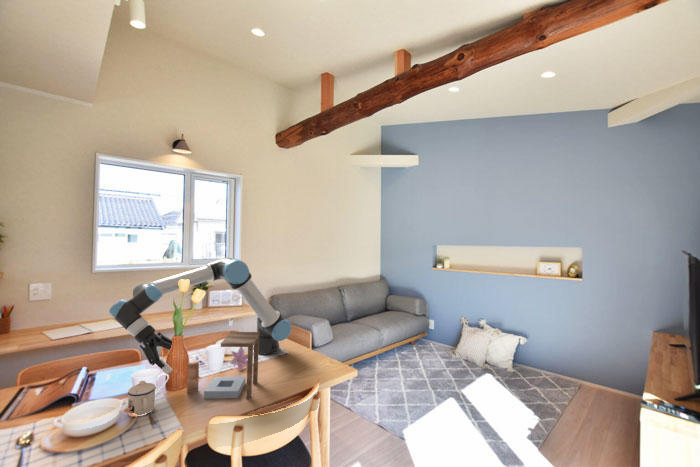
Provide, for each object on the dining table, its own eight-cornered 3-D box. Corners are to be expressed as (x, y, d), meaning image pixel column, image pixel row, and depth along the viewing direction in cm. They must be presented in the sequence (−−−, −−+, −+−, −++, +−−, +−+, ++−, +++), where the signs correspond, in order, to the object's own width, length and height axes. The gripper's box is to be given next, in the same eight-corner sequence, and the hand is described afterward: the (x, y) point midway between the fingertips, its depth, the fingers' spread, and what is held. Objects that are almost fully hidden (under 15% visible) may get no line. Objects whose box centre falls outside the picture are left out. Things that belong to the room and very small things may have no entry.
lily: (225, 376, 165) (234, 360, 163) (222, 359, 174) (230, 344, 173) (247, 377, 172) (256, 363, 170) (243, 361, 181) (251, 347, 180)
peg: (189, 388, 149) (190, 361, 149) (199, 388, 149) (200, 361, 149) (185, 393, 144) (186, 365, 144) (195, 393, 145) (196, 365, 145)
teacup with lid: (125, 410, 129) (126, 380, 129) (152, 403, 135) (153, 374, 135) (130, 424, 120) (131, 392, 120) (159, 416, 126) (160, 385, 126)
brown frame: (229, 382, 156) (230, 331, 156) (257, 382, 157) (259, 332, 157) (218, 399, 140) (220, 343, 140) (250, 399, 141) (252, 343, 141)
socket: (214, 383, 154) (214, 376, 154) (245, 383, 156) (245, 376, 156) (203, 398, 140) (203, 391, 140) (237, 398, 142) (238, 391, 142)
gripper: (149, 328, 156) (182, 360, 158) (117, 346, 131) (156, 384, 133) (162, 317, 157) (194, 349, 158) (132, 333, 132) (170, 371, 133)
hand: (176, 365), depth 145 cm, fingers open, 13 cm apart
